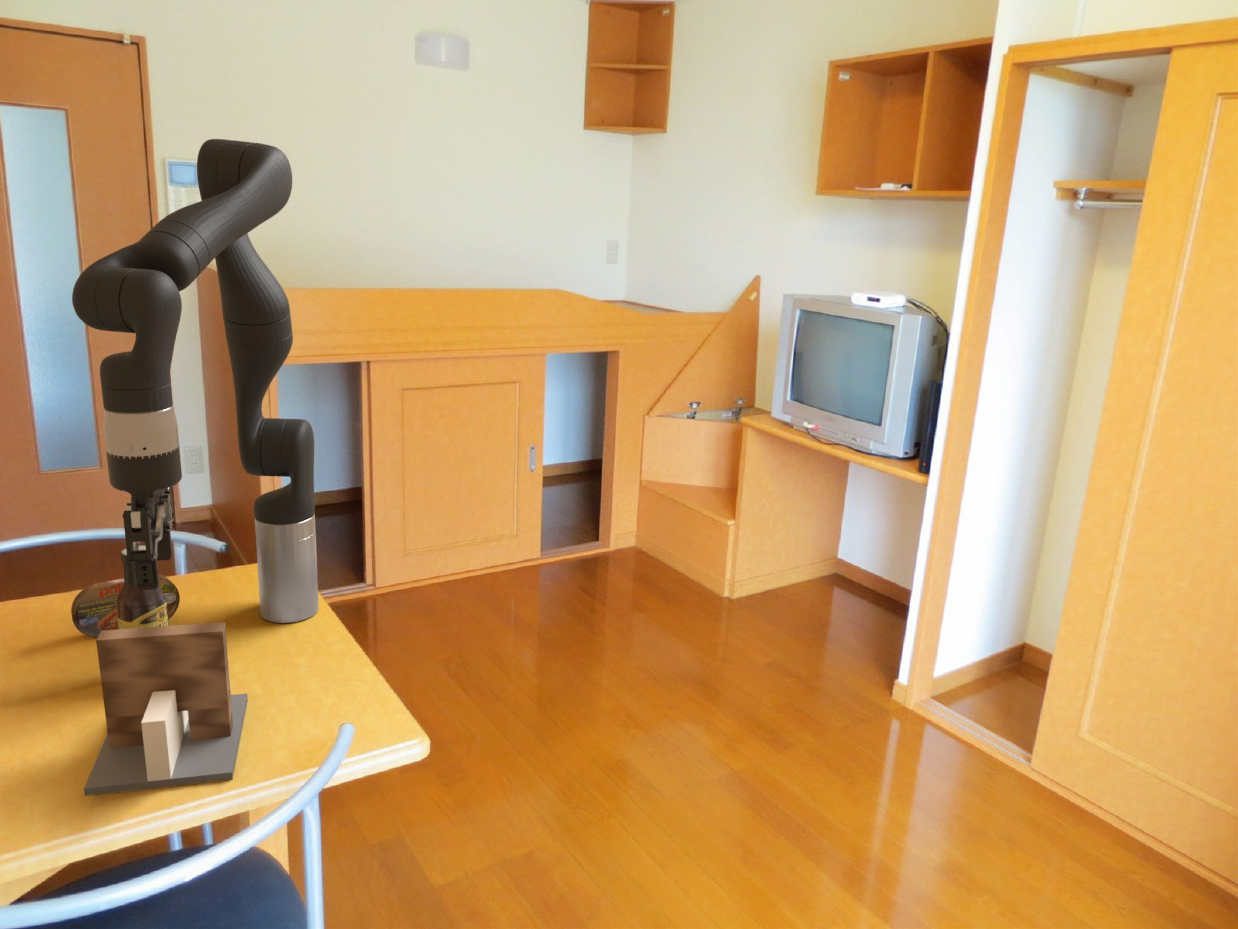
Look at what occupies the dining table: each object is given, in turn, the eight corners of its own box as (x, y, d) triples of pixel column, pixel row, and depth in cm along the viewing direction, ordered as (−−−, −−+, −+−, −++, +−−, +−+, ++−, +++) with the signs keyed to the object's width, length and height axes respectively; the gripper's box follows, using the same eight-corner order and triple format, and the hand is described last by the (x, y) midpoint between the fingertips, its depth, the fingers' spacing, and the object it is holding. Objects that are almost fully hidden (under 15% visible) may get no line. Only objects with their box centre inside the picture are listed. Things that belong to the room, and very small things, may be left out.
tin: (75, 643, 139) (68, 593, 136) (72, 635, 141) (66, 585, 139) (182, 621, 148) (178, 573, 145) (178, 613, 150) (173, 566, 148)
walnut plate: (232, 725, 119) (225, 622, 115) (230, 736, 117) (222, 631, 113) (114, 736, 116) (101, 630, 111) (109, 748, 113) (96, 640, 109)
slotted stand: (120, 711, 123) (113, 651, 120) (247, 699, 127) (243, 642, 124) (84, 796, 106) (75, 729, 104) (232, 779, 111) (227, 714, 108)
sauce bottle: (152, 694, 127) (138, 563, 121) (113, 687, 128) (97, 557, 122) (183, 671, 133) (171, 545, 127) (145, 665, 134) (131, 539, 128)
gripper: (167, 462, 99) (179, 597, 104) (188, 427, 112) (198, 548, 117) (90, 464, 97) (106, 601, 102) (120, 428, 110) (134, 551, 115)
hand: (155, 573), depth 110 cm, fingers open, 8 cm apart
